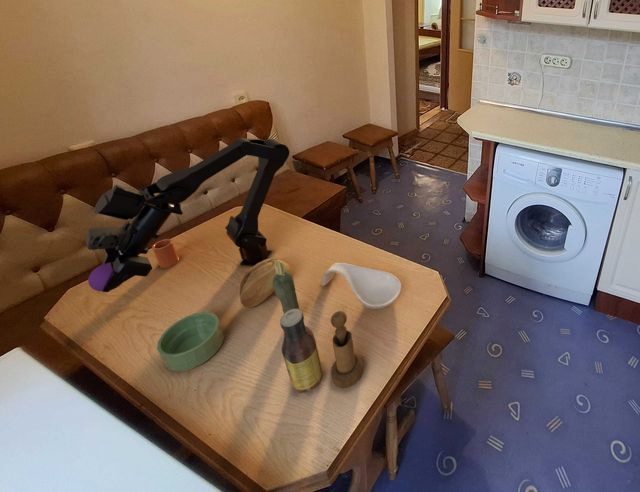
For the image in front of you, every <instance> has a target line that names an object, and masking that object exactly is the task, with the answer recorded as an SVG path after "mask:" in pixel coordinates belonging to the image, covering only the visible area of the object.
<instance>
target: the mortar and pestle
mask: <svg viewBox="0 0 640 492" xmlns="http://www.w3.org/2000/svg"><path fill="white" fill-rule="evenodd" d="M347 317H348V316H347V313H345V311H343V310H338V311H335V312H333V314H332V315H331V317H330V324H331V326H332V327H333V328H335V329H334V335H333V336H332V346H333V347H332V348H333V353H334V358H335V359H334V362H333V363H332V366H331V369H330V374H331V380H332V383H333V385H334V386H335V387H336V388H340V389H348V388H350V387H352V386H354V385H355V384H357V383H358V382H359V380H360V379H361V378H362V375H363V373H364V364H363V359H362V357H361V355H360V354H358V353H356V352H355V347H354V339H353V335H352V333H351V331H350V330H347V329H348V328H347V326H346V323H347V319H348V318H347Z"/></svg>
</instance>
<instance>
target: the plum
mask: <svg viewBox="0 0 640 492" xmlns="http://www.w3.org/2000/svg"><path fill="white" fill-rule="evenodd" d="M110 263H114V262H110ZM110 263H105V264H103V263H102V264H100V265H98V266H96V267H95V268H94V269H93V270H91V273H90V274H89V275H88V279H87V282H88V285H89V287H90V288H91V289H92V290H94V291H96V292H102V290H103V288H104V286H105V284H106V282H107V280H108V278H109V276H110V275H111V273H112V271H113V270H112V268H111V265H110ZM121 285H122V284H120V285H119V286H117V287H115V288H114V289H112V290H115V289H117V288H119V287H120V286H121ZM112 290H111V291H112Z"/></svg>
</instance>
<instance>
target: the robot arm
mask: <svg viewBox="0 0 640 492" xmlns="http://www.w3.org/2000/svg"><path fill="white" fill-rule="evenodd" d="M290 152H291V151H290V149H289V147H288V146H287V145H286V144H284V143H282V142H281V141H279V140H278V139H276V138H267V139H259V138H245V137H239V138H236V139H235V140H234V141H233V142H232V143H230V144H228V145H227V146H225V147H224V148H221V149H220V150H218V151H217V152H215V153H213V154H212V155H210V156H207V157H206V158H204V159H203V160H201V161H199V162H198V163H196V164H195V165H193V166H190V167H187V168H183V169H178V170H176V171H173V172H171V173H168V174H166V175H163V176H161V177H160V178H159V179H158V180H157V181H156V182H153V183H151V184H148V185H146V186H144V187H141V188H138V191H137V190H134V189H131V188H127V187H125V186H122V185H120V184H115V185H114V186H113V187H112V188H110V189H108V190H107V191H106V192H105V193H103V194H101V196H100V197H99V199H98V201H97V202H96V204H95V206H94V210H93V212H94V213H95V214H96V215H100V216H101V215H102V216H105V217H110V218H116V219H119V220H124V221H127V220H128V221H127V222H124V223H123V225H122V226H100V227H99V226H98V227H97V226H96V227H89V228H88V231H87V235H86V239H85V244H86V249H87V250H90V251H95V250H104V251H105V256H104V259H103V262H102V264H105V263H110V262H114V263H110V265H111V268H112V270H113V271H112V273H111V275H110V276H109V278H108V280H107V282H106V284H105V286H104V288H103V290H102V291H101V292H102V293H109V292H111V291H112V289H113V290H115V289H116V288H115V287H117V286H119V285H120V284H121V285H123V284H124V283H125V282H126V281H128V280H130V279H133V278H134V277H135V276H138V277H148V275H149V274H150V273H151V272H152V270H153V266H152V264H151V262H150V260H149V258H148V257H147V256H142V255H147V254H148V253H149V251H150V250H149V248H148V246H149V245H150V244H151V242H152V241H153V240H154V239H157V240H158V238H159V237H160V236H161V235H160V233H159V232H160V230H161V229H162V228H163V226H164V224H165V223H166V222H167V220H168V219H169V217H170V216H171V215H172V214H175V215H179V216H182V215H183V214H184V212H183V210H182V206H181V205H182V204H181V203H183V202H185V201H186V200H188V199H189V198H190V197H191V196H192V195H194V194H195V193H196V192H197V191H198V189H199V188H200V187H201V185H203V184H204V183H205V182H206V181H207V180H209V179H211V178H212V177H214V176H215V175H217V174H220V173H221V172H222V171H224V170H225V169H227V168H229V167H231V166H232V165H233V164H235V163H236V162H239V161H240V160H241V159H243V158H245V157H247V156H248V157H249V156H250V157H256V158H258V160H257V161H258V168H257V170H256V172H255V175H254V178H253V180H252V183H251V186H250V187H249V190H248V193H247V195H246V198H245V200H244V203H243V205H242V208H241V211H240V212H239V213H238V214H237V215H236V216H234V215H230V217H229V220H228V223H227V225H226V226H225V227H224V229H225V230H226V236H227V237H228V238H229V239H230V240H231V241H232V243H233V244H234V245H235V246H236V247H238V252H239V254H240V259H241V262H240V263H239V264H240V266H249V267H253V266H255V265H256V264H257V263H259V262H261V261H263V260H266V259H269V256H270V255H271V254H272V250H270V249H268V246H267V241H268V240H267V237H266V236H264V234H263V233H261V232H260V230H259V215H260V213H261V210H262V209H263V206H264V203H265V200H266V199H267V195H268V193H269V190H270V188H271V185H272V183H273V180H274V178H275V176H276V173H277V172H278V171H279V170H280V169H281V168H283V166H284V165H285V164H286V162H287V160H288V158H289V157H290ZM131 220H132V221H131ZM140 254H142V255H140ZM121 285H120V286H121ZM120 286H119V287H120ZM114 288H115V289H114ZM117 288H118V287H117Z"/></svg>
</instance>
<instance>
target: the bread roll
mask: <svg viewBox="0 0 640 492" xmlns="http://www.w3.org/2000/svg"><path fill="white" fill-rule="evenodd" d="M274 260H277V261H278V262H281V263H282V264H283V265H284V269H285V271H287V272H289V273H290V274H291V275H292V269H291V266H290V265H289V264H288V263H287V262H285V261H283V260H282V259H278V258H267V259H266V260H263V261H261V262H259V263H257V264H256V265H255V266H251V267H250V268H249V269H248V270H247V271H246V272H245V274H244V275H243V276H242V279H241V281H240V285H239V293H238V294H239V300H240V303H241V305H242V306H243V307H244V308H246V309H251V308H256V306H258V305H260V304H261V303H263V302H264V301H265V300H266V299H267V298H268V297H270V296H271V295H272V294H273V293H275V291H274V288H273V278H274V276H275V275H276V271H275V264H274V265H273V266H272V265H271V262H272V261H274Z"/></svg>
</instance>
